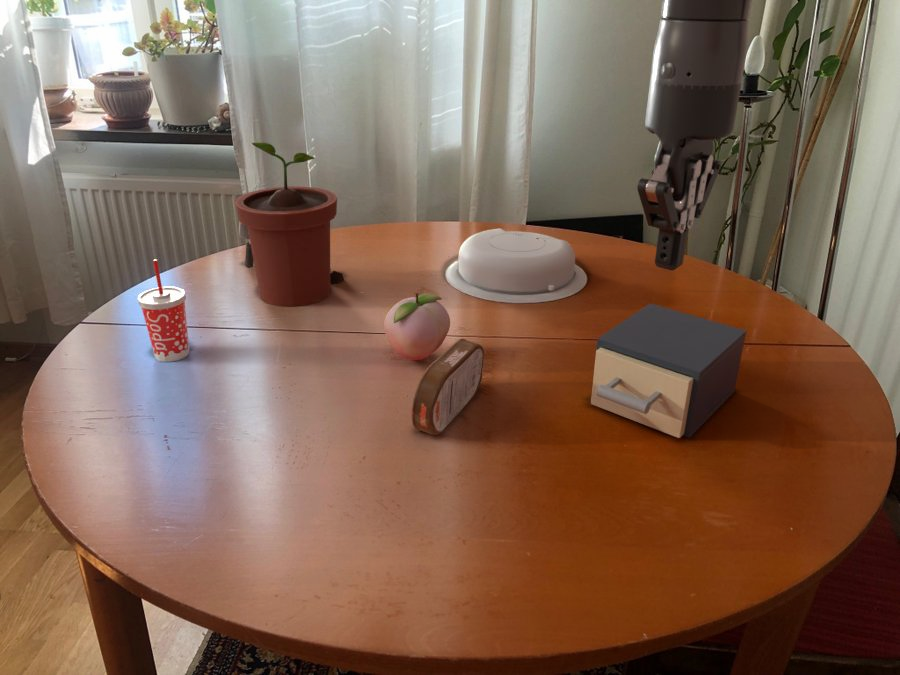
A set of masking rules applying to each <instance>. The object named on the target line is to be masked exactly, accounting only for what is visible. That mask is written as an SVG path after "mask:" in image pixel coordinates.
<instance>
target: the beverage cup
mask: <svg viewBox="0 0 900 675" xmlns="http://www.w3.org/2000/svg"><path fill="white" fill-rule="evenodd" d="M152 262H153V267H154V274H155V277H156V284H157V287H153V288H150V289H147V290H144V291H142V292H141V293H139V294H138V296H137V298H136V300H137V302H138V306H139V308H141V310H142V315H143V318H144V322H145V326H146V329H147V330H146V331H147V333H148V337H149V340H150V344H151V348H152V351H153V356H154V359H155V360H157V361H159V362H165V363H169V362H170V363H172V362H176V361H180V360H182V359H183V360H184V359H185V358H186V357H187V356H189V354H190V342H189V332H188V324H187V312H186V303H185V302H186V300H187V297H186V295H187V294H186V291H185V289H183V288H181V287H178V286H171V285H170V286H162V281H161V275H160V274H161V273H160V268H159V263H158V259H157V258H155V259H153V261H152Z"/></svg>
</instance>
